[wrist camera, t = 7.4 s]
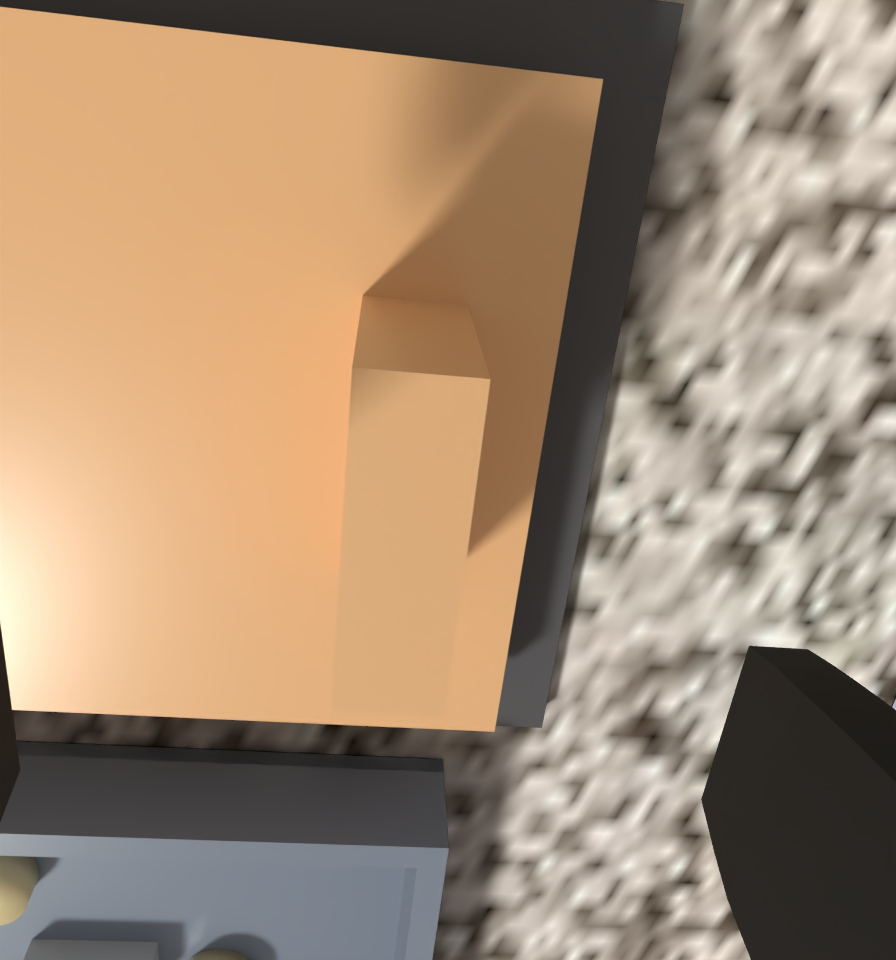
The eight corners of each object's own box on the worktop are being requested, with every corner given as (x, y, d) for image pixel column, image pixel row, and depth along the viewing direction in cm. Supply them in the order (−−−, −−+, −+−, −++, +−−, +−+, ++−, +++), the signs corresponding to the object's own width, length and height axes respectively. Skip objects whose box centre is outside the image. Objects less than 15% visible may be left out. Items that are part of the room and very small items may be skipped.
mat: (674, 5, 13) (683, 3, 13) (537, 712, 19) (541, 727, 19) (-774, -182, 11) (-823, -193, 11) (-433, 665, 17) (-455, 681, 17)
